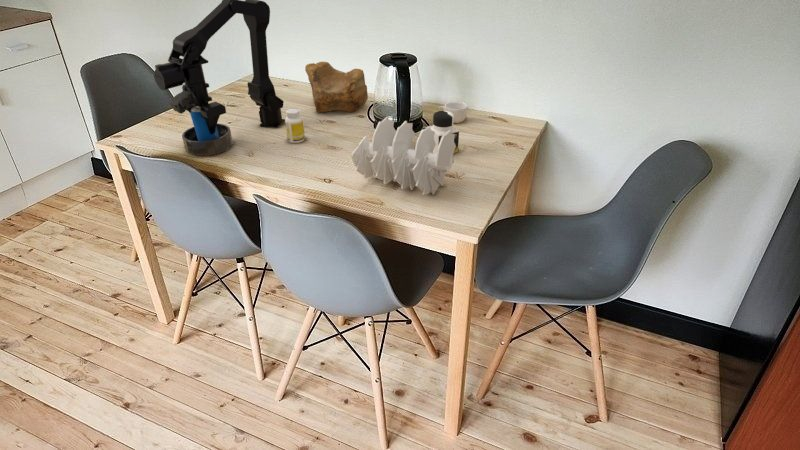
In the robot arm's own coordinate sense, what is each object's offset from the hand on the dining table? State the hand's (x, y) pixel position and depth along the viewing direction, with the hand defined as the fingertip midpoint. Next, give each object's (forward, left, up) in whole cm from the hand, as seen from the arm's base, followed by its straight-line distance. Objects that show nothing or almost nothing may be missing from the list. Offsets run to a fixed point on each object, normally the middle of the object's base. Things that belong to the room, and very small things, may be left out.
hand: (206, 130), depth 164 cm
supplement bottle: (-25, -10, -6) cm, 27 cm away
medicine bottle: (-72, -11, -6) cm, 73 cm away
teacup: (-72, -35, -6) cm, 80 cm away
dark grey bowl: (0, 0, -6) cm, 6 cm away
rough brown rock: (-28, -38, -6) cm, 47 cm away
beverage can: (0, 0, -5) cm, 5 cm away
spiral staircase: (-65, +12, -6) cm, 67 cm away
